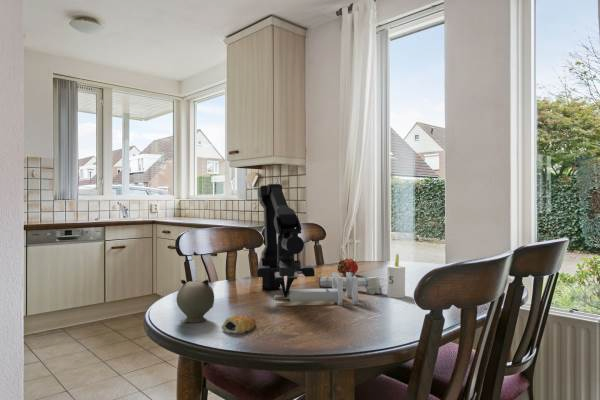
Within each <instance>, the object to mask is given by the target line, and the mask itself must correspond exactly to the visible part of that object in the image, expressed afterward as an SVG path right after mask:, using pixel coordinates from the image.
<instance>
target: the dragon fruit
mask: <svg viewBox="0 0 600 400" xmlns="http://www.w3.org/2000/svg"><path fill="white" fill-rule="evenodd" d="M337 265H338V266H337V272H338V274H342V277H346V272H352V273H353V274H354V275H355V276H356V273H357V272H358V270H359V266H358V263H357V261H356V260H354V259H353V258H345V259H342V260H340V261H339V262H338V264H337Z"/></svg>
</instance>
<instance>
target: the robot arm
mask: <svg viewBox="0 0 600 400" xmlns="http://www.w3.org/2000/svg"><path fill="white" fill-rule="evenodd" d="M257 197H258V202H259V204H260V206H262V208H263V220H264V221H263V223H264V242H265V244H264V248H263V250H262V252H261V254H260V255H261V256H260V259H259V263H258V266H257V278H262V280H261V290H262V291H279V290H280V288H281V290H282V294H283V295H284V297H287V295H289V293H290V289H291V286H292V283H293V282H294V281H295V280H298V275H303V276H304V277H307V278H309V277H315V276H316V275H315V268H314V266H312V265H301V263H302V262H301V260H299V259H298V260H295V255H299V254H300V253H301V252H302V251H303V250H304V248H305V242H304V240H303V238H302V237H300V236H299V234H300V235H301V234H302V225H301V223H300V219H299V217H298V215H297V214H296V212H295V210H294V209H293V208H291V207H290V206H289V204H288V202H287V199H286V196H285V193H284V192H283V184H280V183H269V184H268V183H267V184H265V185H261V186H259V187H258V188H257ZM285 277H286V283H285Z"/></svg>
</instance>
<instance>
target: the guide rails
mask: <svg viewBox="0 0 600 400" xmlns="http://www.w3.org/2000/svg"><path fill="white" fill-rule="evenodd" d="M273 297H274V300H290V294H288V295H287V297H284V294H283V295H278V294H277V295H274V296H273ZM274 305H275V307H283V306H284V307H285V306H287V307H288V306H289V307H290V306H326V305H328V306H330V305H335V303H334V301H295V302H290V301H275V302H274Z"/></svg>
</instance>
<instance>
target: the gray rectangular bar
mask: <svg viewBox="0 0 600 400" xmlns="http://www.w3.org/2000/svg"><path fill="white" fill-rule="evenodd" d="M289 295H290V299H289V302H295V301H334V304H335V303H336V304H337V289H336V288H335V289H332V288H328V287H324V288H296V289H295V288H292V289H291V288H290V289H289Z"/></svg>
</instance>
